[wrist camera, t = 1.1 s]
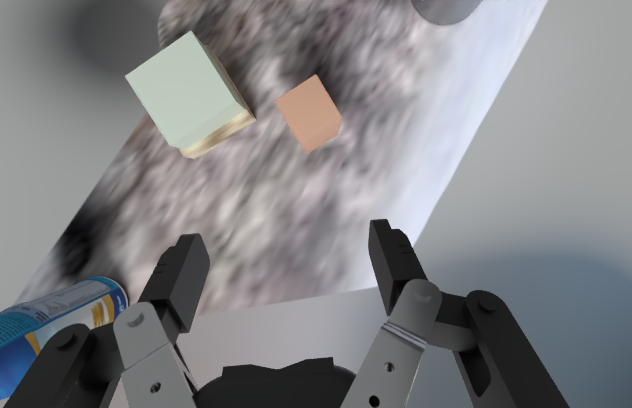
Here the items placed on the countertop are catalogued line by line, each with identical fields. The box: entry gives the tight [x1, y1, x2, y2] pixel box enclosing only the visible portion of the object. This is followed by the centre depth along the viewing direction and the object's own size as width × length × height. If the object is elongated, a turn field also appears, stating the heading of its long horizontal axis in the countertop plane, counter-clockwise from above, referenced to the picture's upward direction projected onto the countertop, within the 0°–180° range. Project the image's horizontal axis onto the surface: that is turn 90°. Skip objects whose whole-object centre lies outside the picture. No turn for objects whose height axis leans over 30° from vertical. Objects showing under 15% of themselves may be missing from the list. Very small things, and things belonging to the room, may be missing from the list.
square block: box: [274, 74, 342, 154], centre depth 34 cm, size 5×5×10 cm
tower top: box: [125, 31, 246, 150], centre depth 34 cm, size 9×9×4 cm
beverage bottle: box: [0, 276, 128, 400], centre depth 32 cm, size 8×8×20 cm
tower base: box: [179, 44, 256, 159], centre depth 38 cm, size 10×10×4 cm
